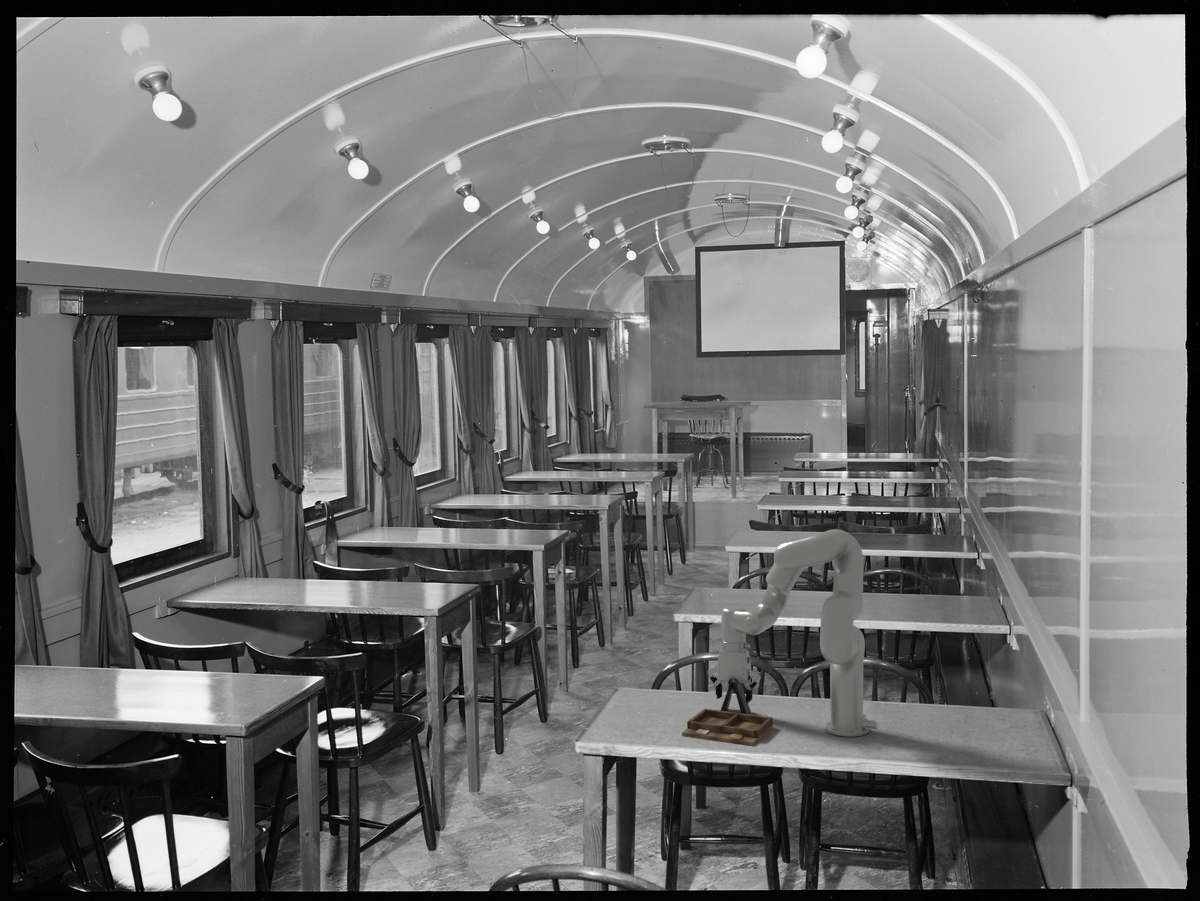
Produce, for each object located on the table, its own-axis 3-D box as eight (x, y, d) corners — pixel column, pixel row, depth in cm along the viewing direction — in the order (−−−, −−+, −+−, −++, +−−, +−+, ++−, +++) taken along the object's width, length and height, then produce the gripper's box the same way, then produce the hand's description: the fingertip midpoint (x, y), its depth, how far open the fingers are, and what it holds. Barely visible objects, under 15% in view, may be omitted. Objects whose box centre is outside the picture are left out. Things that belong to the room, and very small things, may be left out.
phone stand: (750, 712, 338) (750, 674, 337) (747, 717, 332) (746, 679, 331) (722, 709, 341) (722, 672, 340) (719, 715, 335) (718, 677, 334)
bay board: (772, 727, 322) (772, 717, 322) (752, 745, 306) (752, 735, 306) (704, 718, 333) (704, 708, 332) (682, 735, 317) (681, 725, 316)
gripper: (764, 646, 334) (764, 700, 336) (712, 640, 342) (712, 693, 344) (756, 651, 328) (756, 706, 329) (703, 645, 336) (703, 699, 337)
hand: (733, 699), depth 336 cm, fingers open, 9 cm apart
